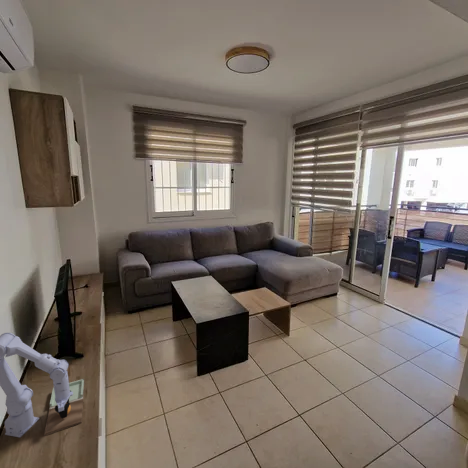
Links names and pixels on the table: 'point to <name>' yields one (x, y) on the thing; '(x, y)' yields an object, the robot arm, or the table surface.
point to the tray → (74, 387)
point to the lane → (72, 418)
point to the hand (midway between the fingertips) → (64, 412)
